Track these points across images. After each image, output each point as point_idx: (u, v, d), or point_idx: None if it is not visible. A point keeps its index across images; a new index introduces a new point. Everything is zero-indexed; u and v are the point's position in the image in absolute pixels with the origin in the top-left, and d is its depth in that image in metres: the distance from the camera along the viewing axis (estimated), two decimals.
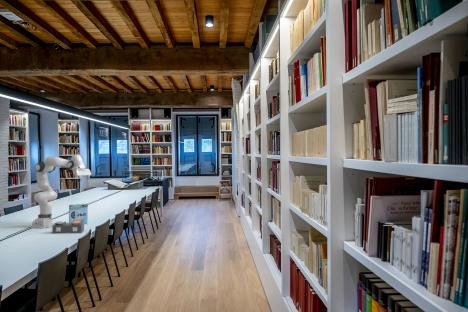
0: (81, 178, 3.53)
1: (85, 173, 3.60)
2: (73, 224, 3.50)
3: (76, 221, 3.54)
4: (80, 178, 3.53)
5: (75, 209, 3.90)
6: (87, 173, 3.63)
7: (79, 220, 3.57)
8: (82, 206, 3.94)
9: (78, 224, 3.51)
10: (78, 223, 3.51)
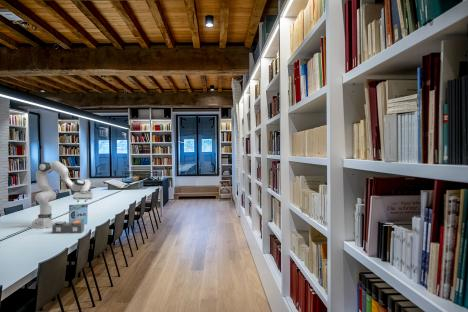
0: None
1: None
2: (73, 224, 3.50)
3: (76, 221, 3.54)
4: (86, 200, 3.71)
5: (75, 209, 3.90)
6: None
7: (79, 220, 3.57)
8: (82, 206, 3.94)
9: (78, 224, 3.51)
10: (78, 223, 3.51)
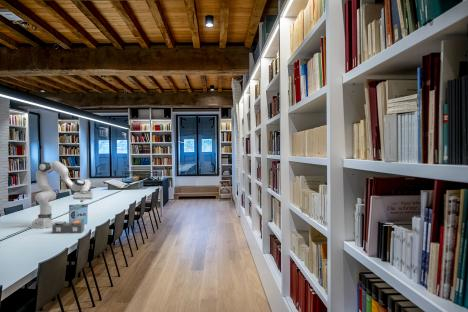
0: None
1: None
2: (73, 224, 3.50)
3: (76, 221, 3.54)
4: (83, 200, 3.71)
5: (76, 209, 3.90)
6: None
7: (79, 220, 3.57)
8: (82, 206, 3.94)
9: (78, 224, 3.51)
10: (78, 223, 3.51)
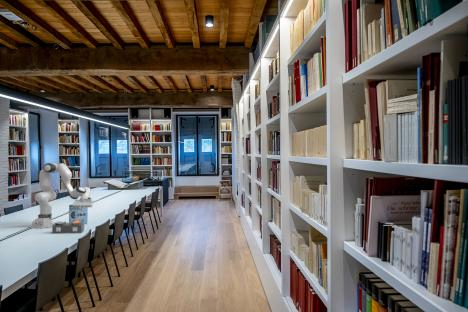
0: None
1: None
2: (73, 224, 3.50)
3: (76, 221, 3.54)
4: (83, 208, 3.71)
5: (75, 209, 3.90)
6: None
7: (79, 220, 3.57)
8: None
9: (78, 224, 3.51)
10: (78, 223, 3.51)
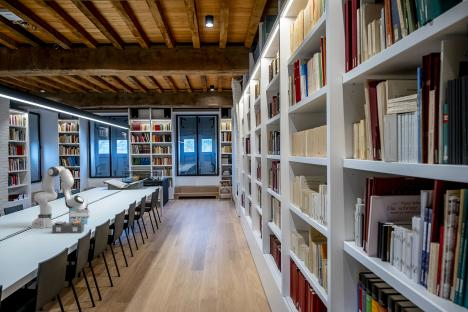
0: None
1: None
2: None
3: (76, 221, 3.54)
4: (80, 219, 3.59)
5: (75, 209, 3.90)
6: None
7: None
8: None
9: None
10: (78, 223, 3.51)
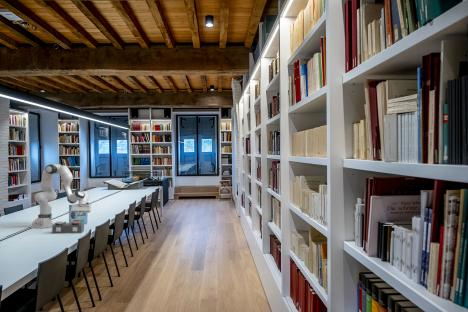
0: None
1: None
2: (73, 222, 3.50)
3: None
4: (81, 213, 3.65)
5: None
6: None
7: None
8: None
9: (78, 222, 3.51)
10: (78, 221, 3.51)
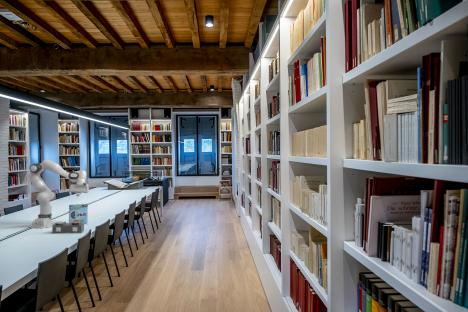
0: None
1: None
2: (73, 222, 3.50)
3: None
4: (79, 194, 3.75)
5: (76, 209, 3.90)
6: None
7: None
8: (82, 206, 3.94)
9: (78, 222, 3.51)
10: (78, 221, 3.51)
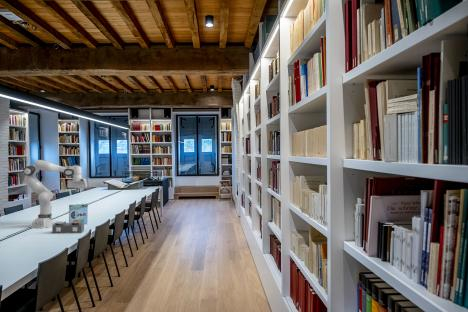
0: (78, 190, 3.79)
1: None
2: (73, 222, 3.50)
3: None
4: (78, 190, 3.79)
5: (76, 209, 3.90)
6: None
7: None
8: (82, 206, 3.94)
9: (78, 222, 3.51)
10: (78, 221, 3.51)
